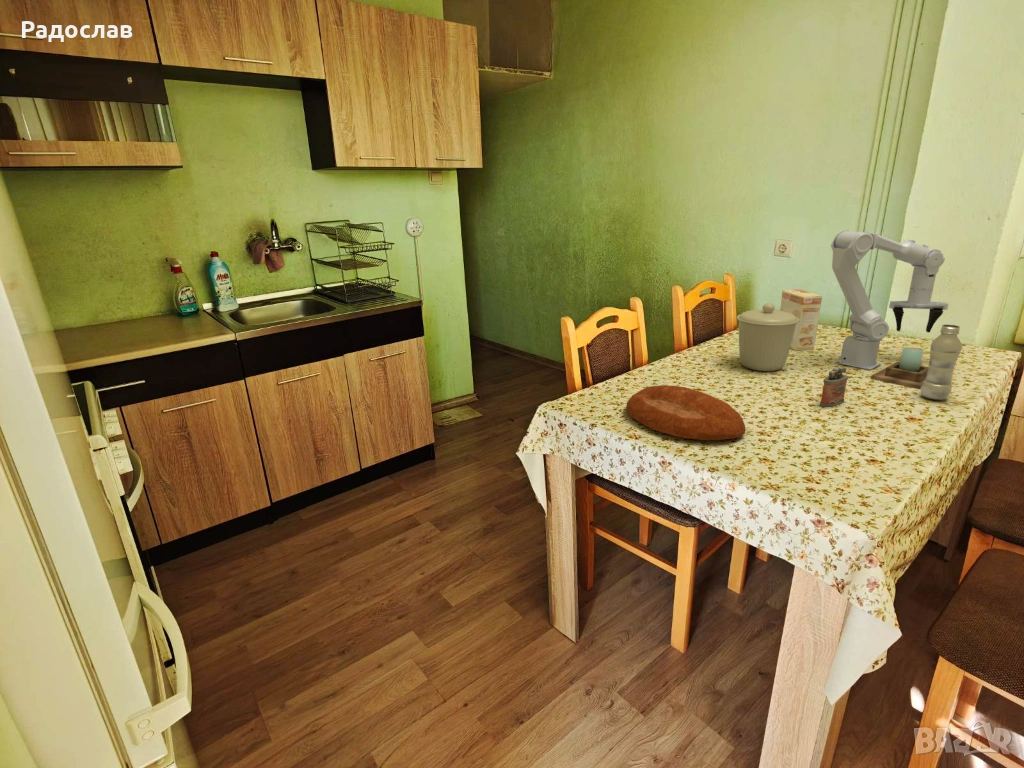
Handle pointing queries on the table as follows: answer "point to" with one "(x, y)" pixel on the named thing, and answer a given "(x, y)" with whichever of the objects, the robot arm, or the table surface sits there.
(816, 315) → the coffeecake box
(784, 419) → the table surface
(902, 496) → the table surface
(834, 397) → the lighter
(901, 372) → the brown piece
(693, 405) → the bread
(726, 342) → the table surface
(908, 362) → the roll
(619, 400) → the table surface
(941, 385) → the plastic bottle
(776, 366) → the canister
